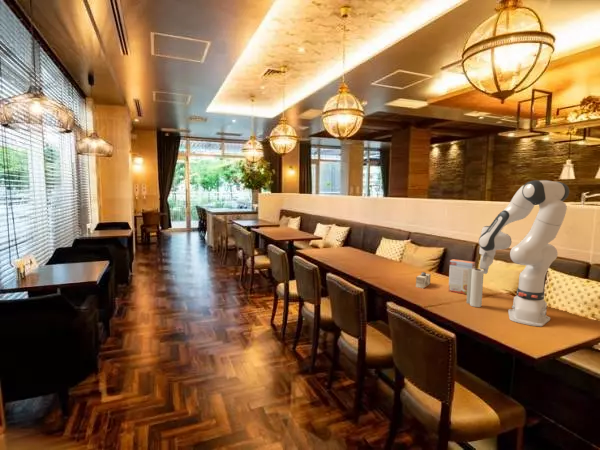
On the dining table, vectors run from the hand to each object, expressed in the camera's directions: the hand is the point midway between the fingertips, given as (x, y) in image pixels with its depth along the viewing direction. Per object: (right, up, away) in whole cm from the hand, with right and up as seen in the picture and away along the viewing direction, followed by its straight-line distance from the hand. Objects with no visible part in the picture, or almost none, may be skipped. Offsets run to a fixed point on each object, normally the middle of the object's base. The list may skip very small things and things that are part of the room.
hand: (485, 273), depth 214 cm
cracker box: (-11, -14, +10) cm, 20 cm away
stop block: (-30, -12, +25) cm, 41 cm away
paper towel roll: (-14, -17, -14) cm, 26 cm away
